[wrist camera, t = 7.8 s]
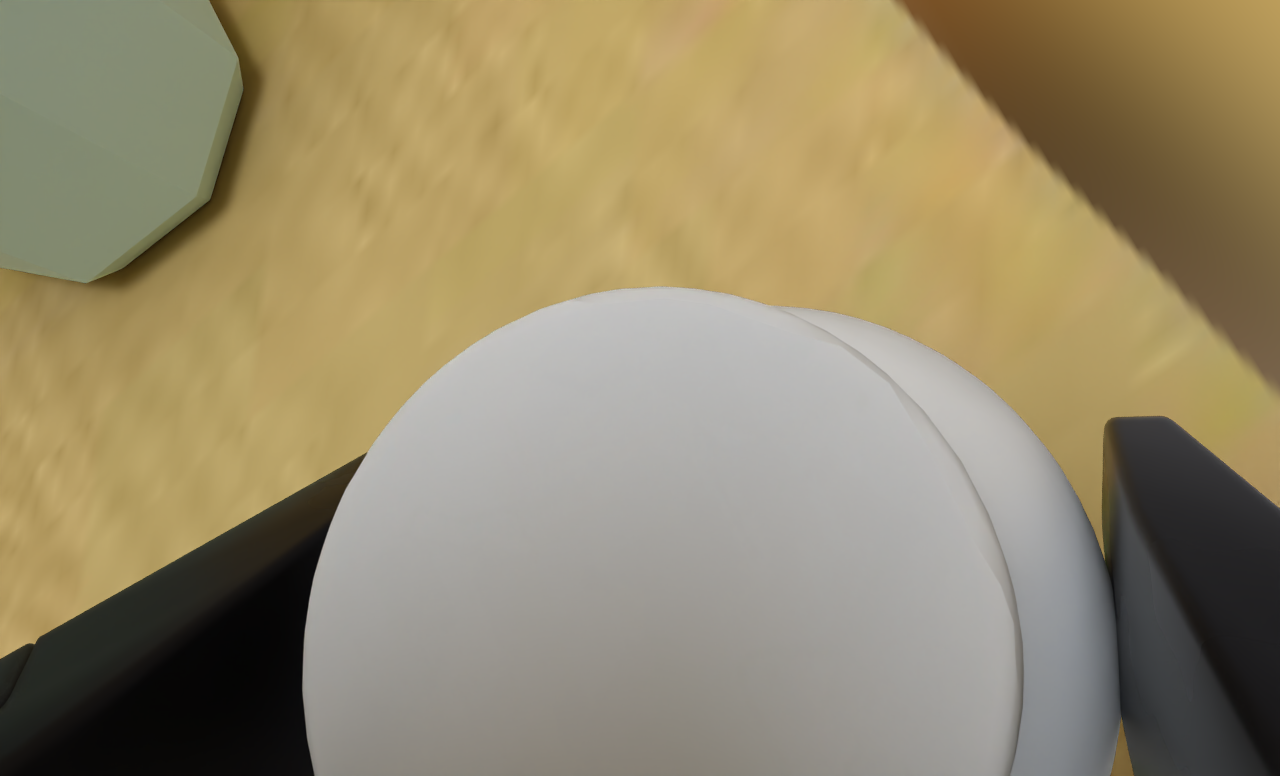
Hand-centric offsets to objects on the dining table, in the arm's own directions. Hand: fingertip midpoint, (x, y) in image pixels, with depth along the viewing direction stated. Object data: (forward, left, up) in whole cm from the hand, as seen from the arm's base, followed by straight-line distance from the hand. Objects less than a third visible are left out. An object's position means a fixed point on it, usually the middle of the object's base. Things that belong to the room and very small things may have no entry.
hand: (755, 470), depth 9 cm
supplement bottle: (-1, -1, -7) cm, 7 cm away
